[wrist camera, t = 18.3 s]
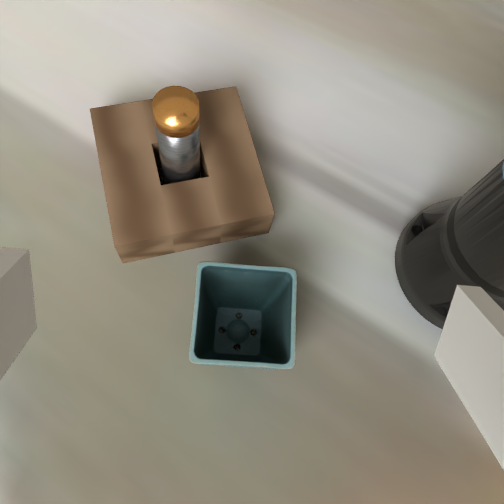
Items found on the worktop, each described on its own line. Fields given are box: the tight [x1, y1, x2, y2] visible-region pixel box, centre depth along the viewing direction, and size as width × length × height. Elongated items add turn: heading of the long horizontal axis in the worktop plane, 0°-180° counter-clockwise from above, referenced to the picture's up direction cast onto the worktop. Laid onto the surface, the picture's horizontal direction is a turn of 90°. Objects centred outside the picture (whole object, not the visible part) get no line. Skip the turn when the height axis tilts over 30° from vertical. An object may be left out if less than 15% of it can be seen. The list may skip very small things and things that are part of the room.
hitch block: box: [90, 87, 275, 263], centre depth 51 cm, size 16×16×5 cm
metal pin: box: [152, 86, 200, 185], centre depth 47 cm, size 4×4×14 cm
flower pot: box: [189, 261, 297, 369], centre depth 44 cm, size 9×9×9 cm
